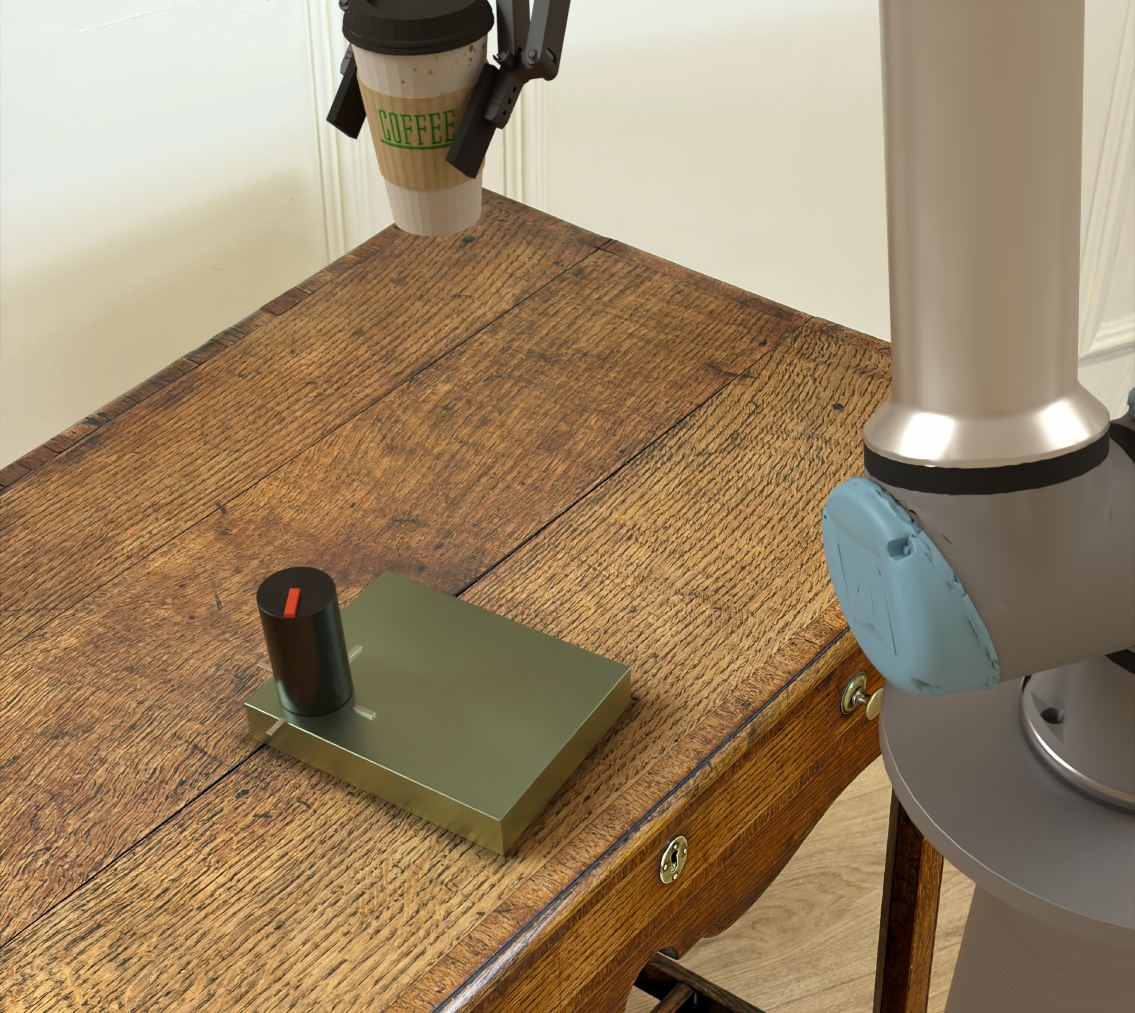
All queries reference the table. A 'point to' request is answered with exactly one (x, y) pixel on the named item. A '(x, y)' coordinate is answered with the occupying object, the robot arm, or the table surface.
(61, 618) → the table surface
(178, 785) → the table surface
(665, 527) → the table surface
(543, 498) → the table surface
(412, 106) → the coffee cup
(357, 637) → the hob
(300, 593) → the knob
